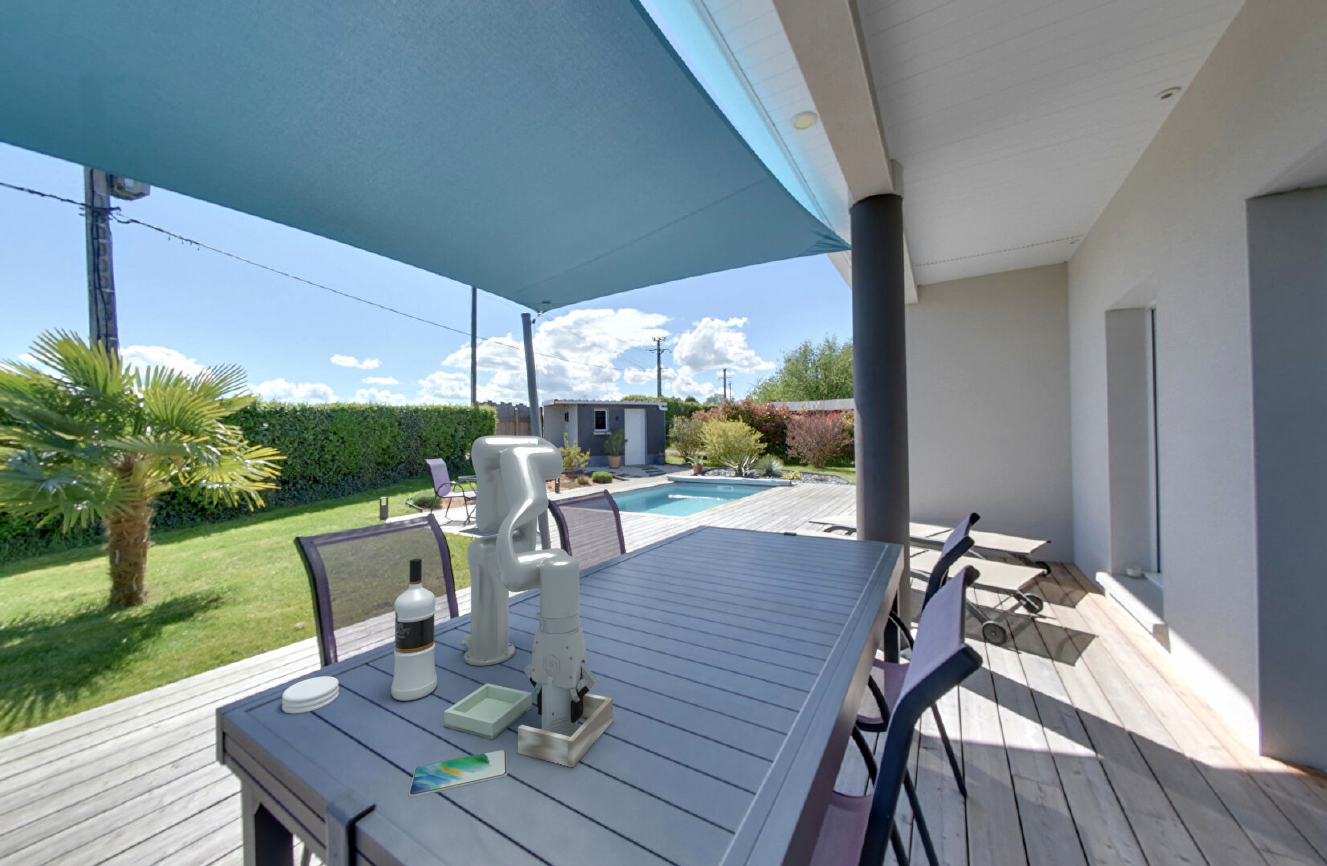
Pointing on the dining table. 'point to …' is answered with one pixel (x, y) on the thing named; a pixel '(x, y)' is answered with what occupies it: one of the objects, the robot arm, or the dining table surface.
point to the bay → (564, 746)
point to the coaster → (310, 694)
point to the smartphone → (458, 772)
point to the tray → (488, 710)
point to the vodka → (414, 639)
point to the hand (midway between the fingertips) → (560, 714)
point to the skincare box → (557, 710)
